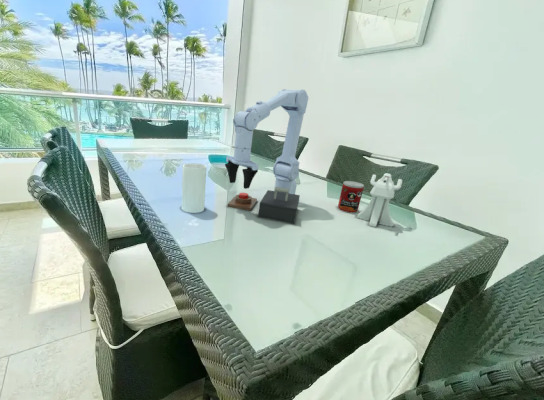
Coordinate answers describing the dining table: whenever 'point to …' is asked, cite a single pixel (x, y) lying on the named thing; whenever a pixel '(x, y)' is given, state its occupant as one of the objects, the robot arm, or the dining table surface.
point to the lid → (280, 199)
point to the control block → (242, 203)
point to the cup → (193, 187)
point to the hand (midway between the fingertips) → (239, 185)
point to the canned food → (350, 196)
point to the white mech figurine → (380, 201)
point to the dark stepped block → (277, 214)
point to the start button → (243, 195)
